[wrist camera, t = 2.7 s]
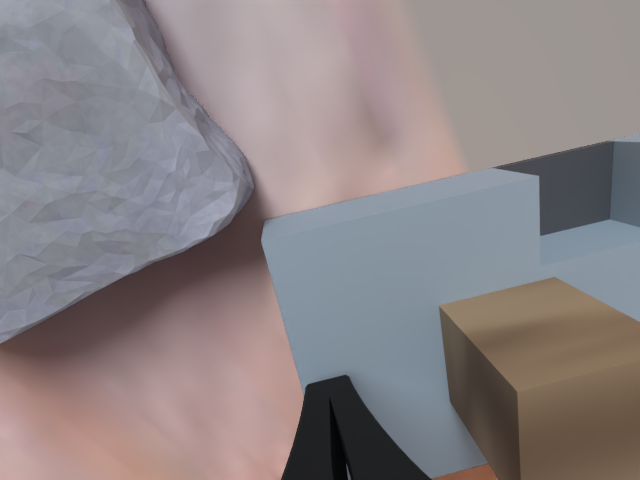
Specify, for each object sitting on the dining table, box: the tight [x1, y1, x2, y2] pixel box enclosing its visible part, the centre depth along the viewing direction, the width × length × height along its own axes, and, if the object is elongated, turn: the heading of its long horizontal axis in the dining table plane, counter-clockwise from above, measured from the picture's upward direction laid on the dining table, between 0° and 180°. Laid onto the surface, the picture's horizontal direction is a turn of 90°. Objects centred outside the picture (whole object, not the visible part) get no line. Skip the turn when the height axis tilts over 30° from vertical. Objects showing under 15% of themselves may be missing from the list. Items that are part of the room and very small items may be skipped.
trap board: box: [261, 134, 640, 480], centre depth 13 cm, size 24×11×4 cm, turn 102°
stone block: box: [0, 0, 254, 344], centre depth 10 cm, size 12×5×10 cm
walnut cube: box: [439, 277, 640, 480], centre depth 10 cm, size 4×4×4 cm
